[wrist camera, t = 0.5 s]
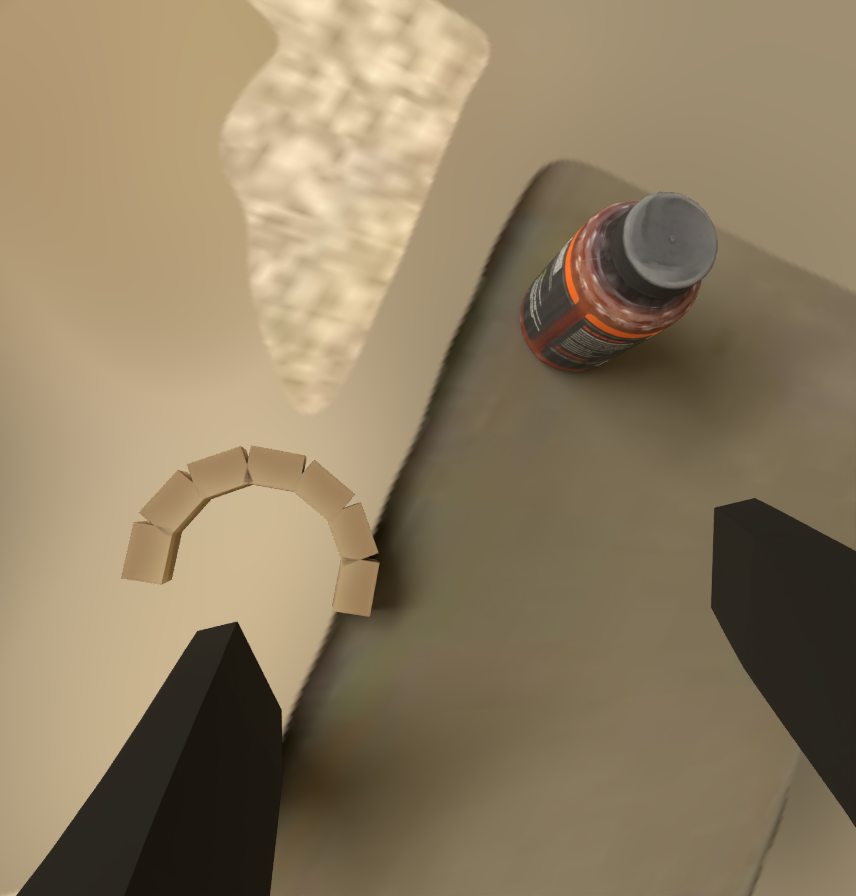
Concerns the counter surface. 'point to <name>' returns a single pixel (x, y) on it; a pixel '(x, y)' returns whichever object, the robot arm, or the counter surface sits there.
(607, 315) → the supplement bottle
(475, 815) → the counter surface
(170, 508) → the oak collar
